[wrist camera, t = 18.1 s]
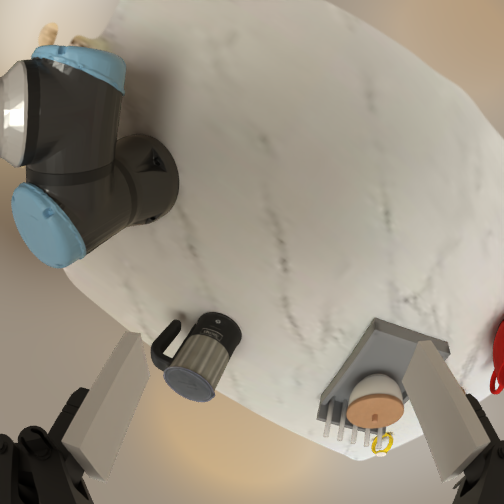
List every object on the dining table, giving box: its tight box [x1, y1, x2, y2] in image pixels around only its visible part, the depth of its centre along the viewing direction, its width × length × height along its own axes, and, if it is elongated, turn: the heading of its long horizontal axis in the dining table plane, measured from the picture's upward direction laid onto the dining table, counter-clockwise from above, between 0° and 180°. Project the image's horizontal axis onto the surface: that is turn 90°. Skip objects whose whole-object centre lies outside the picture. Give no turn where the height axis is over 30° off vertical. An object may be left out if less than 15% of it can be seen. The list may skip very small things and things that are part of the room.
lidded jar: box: [346, 373, 404, 429], centre depth 47 cm, size 11×11×9 cm
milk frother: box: [151, 313, 241, 402], centre depth 54 cm, size 14×16×15 cm
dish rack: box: [316, 318, 450, 449], centre depth 47 cm, size 16×24×11 cm, turn 167°
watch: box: [372, 433, 393, 456], centre depth 58 cm, size 6×3×6 cm, turn 144°
